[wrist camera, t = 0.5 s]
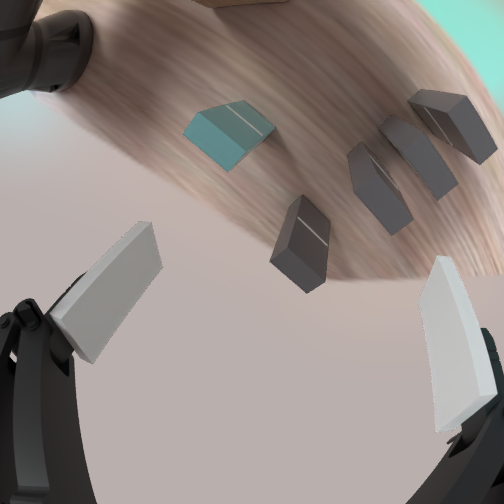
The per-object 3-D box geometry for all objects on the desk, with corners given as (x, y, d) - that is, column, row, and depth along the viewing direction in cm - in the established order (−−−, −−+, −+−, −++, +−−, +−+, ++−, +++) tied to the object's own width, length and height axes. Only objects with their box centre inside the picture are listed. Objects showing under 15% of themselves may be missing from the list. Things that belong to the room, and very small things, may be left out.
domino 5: (407, 101, 24) (446, 113, 14) (421, 88, 22) (466, 95, 13) (433, 135, 25) (479, 165, 15) (447, 123, 23) (498, 148, 14)
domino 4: (377, 127, 27) (401, 152, 17) (392, 114, 25) (424, 132, 16) (404, 160, 28) (436, 201, 18) (419, 147, 26) (458, 183, 17)
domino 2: (289, 206, 35) (269, 261, 26) (302, 194, 34) (287, 246, 24) (316, 232, 36) (306, 294, 27) (330, 221, 35) (325, 281, 25)
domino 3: (346, 154, 29) (353, 192, 20) (362, 141, 28) (377, 172, 19) (374, 185, 30) (391, 236, 21) (389, 172, 29) (414, 219, 20)
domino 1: (230, 115, 30) (182, 134, 21) (243, 100, 29) (198, 111, 19) (262, 141, 31) (227, 172, 22) (275, 127, 30) (246, 151, 20)
